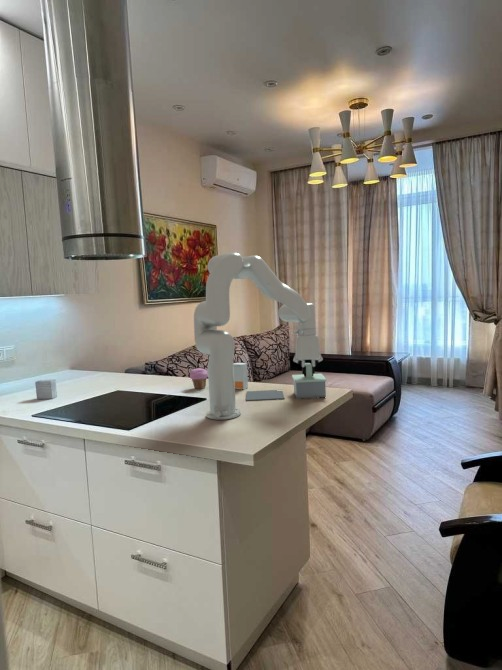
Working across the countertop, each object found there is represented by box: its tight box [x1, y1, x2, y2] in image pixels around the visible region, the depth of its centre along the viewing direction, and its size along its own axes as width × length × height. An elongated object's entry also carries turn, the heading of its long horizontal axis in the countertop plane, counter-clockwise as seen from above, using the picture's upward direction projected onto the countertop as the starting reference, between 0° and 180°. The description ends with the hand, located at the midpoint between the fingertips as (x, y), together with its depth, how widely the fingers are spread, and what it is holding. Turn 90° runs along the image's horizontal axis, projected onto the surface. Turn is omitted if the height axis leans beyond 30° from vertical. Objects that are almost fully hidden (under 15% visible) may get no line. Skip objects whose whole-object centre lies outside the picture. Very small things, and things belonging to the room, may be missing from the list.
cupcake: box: [189, 367, 208, 390], centre depth 213 cm, size 9×9×10 cm
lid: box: [291, 362, 327, 383], centre depth 187 cm, size 13×13×7 cm
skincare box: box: [233, 362, 249, 390], centre depth 207 cm, size 6×4×12 cm
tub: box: [293, 381, 327, 400], centre depth 187 cm, size 12×12×7 cm
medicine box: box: [34, 378, 58, 400], centre depth 209 cm, size 8×4×9 cm, turn 84°
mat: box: [245, 389, 285, 402], centre depth 191 cm, size 16×16×1 cm
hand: (308, 375), depth 187 cm, fingers closed on lid
